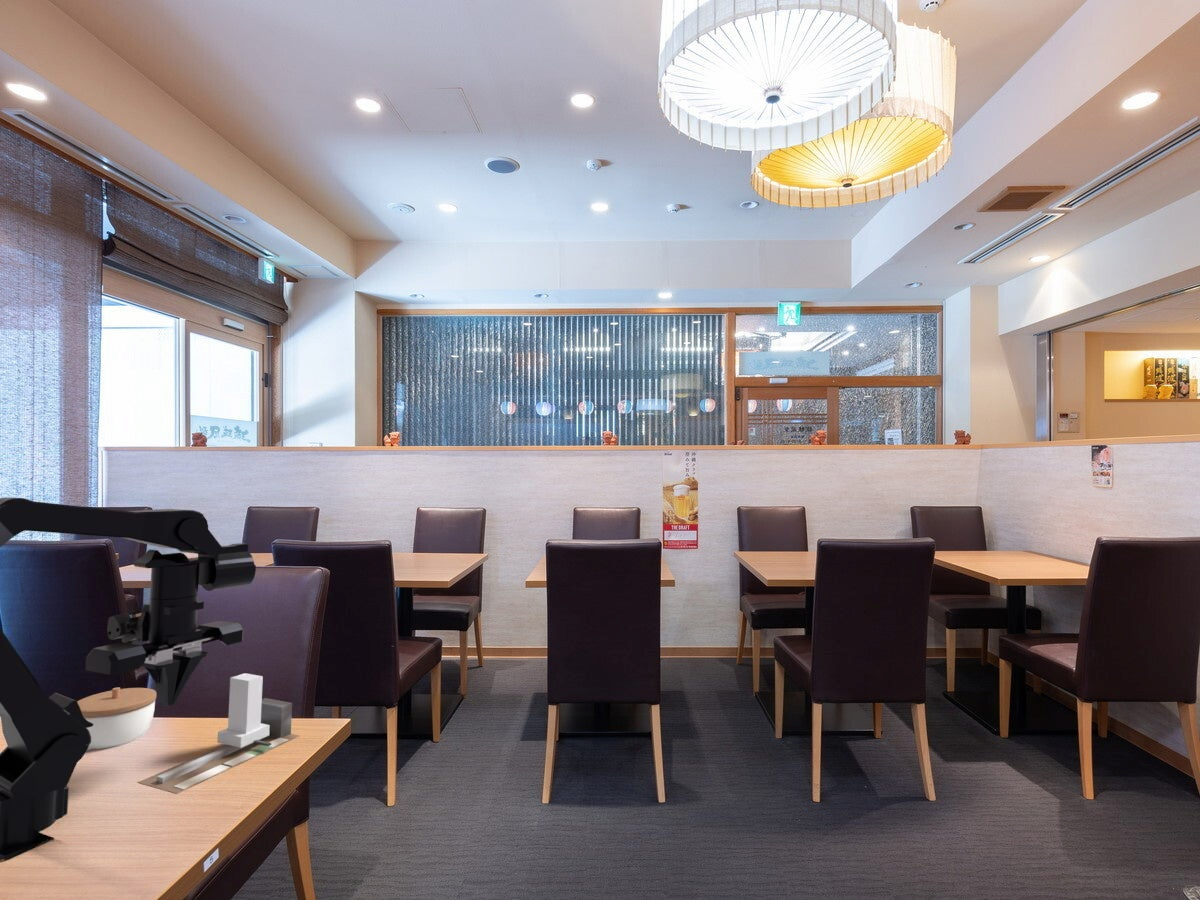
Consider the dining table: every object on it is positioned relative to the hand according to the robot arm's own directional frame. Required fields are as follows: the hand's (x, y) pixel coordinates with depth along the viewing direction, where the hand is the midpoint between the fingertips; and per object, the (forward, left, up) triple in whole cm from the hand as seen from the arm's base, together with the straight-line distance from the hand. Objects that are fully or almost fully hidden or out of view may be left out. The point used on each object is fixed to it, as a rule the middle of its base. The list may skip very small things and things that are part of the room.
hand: (168, 705), depth 86 cm
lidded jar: (+5, +20, -11) cm, 23 cm away
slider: (+11, -4, -9) cm, 14 cm away
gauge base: (+7, -3, -11) cm, 13 cm away
